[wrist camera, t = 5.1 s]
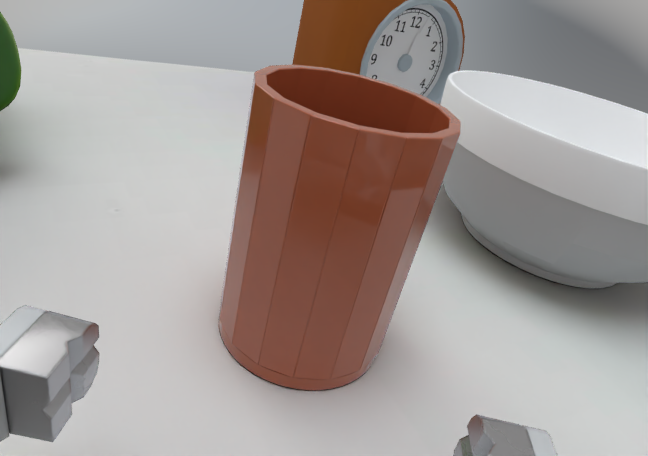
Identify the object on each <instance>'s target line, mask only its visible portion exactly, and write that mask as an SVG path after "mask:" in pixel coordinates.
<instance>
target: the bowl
mask: <svg viewBox="0 0 648 456" xmlns="http://www.w3.org/2000/svg"><path fill="white" fill-rule="evenodd" d="M440 105H441V106H443V107H445V108H447V109H448V110H449V111H450V112H451V113H452V114H453V115H454V116H456V117H457V118H458V119H459V120H460V121H461V133H460V136H459V138H458V141H457V144H456V146H455V149H454V152H453V155H452V157H451V160H450V163H449V165H448V168H447V171H446V173H445V176H444V179H443V184H444V187H445V191H446V194H447V195H448V196H449V198H450V199H451V201H452V202H453V204H454V205H455V206H456V207H457V209H458V210H459V211H460V212H461V214H462V219H463V222H464V225H465V226H466V228H467V229H468V231H469V232H470V233H471V234H472V236H473V237H474V238H475V239H476V240H477V241H478V242H480V243H481V244H482V245H483V246H485V247H486V248H487V249H488V250H490V251H491V252H493V253H494V254H496V255H497V256H499V257H500V258H502V259H503V260H505V261H507V262H509V263H511V264H513V265H515V266H516V267H518V268H520V269H522V270H525V271H527V272H529V273H532V274H534V275H536V276H539V277H542V278H545V279H548V280H551V281H554V282H557V283H561V284H565V285H570V286H574V287H582V288H605V287H609V286H612V285H614V284H616V283H648V114H647V113H644V112H641V111H638V110H635V109H632V108H629V107H626V106H623V105H620V104H617V103H614V102H611V101H608V100H605V99H601V98H598V97H595V96H591V95H588V94H585V93H581V92H577V91H574V90H570V89H567V88H563V87H559V86H555V85H551V84H547V83H543V82H539V81H534V80H530V79H525V78H521V77H516V76H510V75H504V74H499V73H491V72H483V71H469V70H467V71H456V72H453V73H451V74H450V75H449V76H448V78H447V80H446V84H445V88H444V92H443V96H442V100H441V103H440Z"/></svg>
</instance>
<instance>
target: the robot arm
mask: <svg viewBox="0 0 648 456" xmlns="http://www.w3.org/2000/svg"><path fill="white" fill-rule="evenodd" d="M98 338H99V326H98V325H97V324H95V323H92V322H89V321H85V320H81V319H77V318H74V317H70V316H66V315H63V314H59V313H55V312H51V311H46V310H42V309H38V308H35V307H31V306H27V305H25V306H22V307H20V308H18V309H16V310H15V311H14V312H13V313H12V314H11V315H10V316H9V317H8V318H7V319H6V320H5V321H4V322H3V323H2V324H1V325H0V442H1V441H2V440H4V439H5V438H7V437H9V433H10V434H15V435H20V436H25V437H30V438H35V439H40V440H44V441H49V442H53V441H54V440H55V439H56V437H57V436H58V434H59V433H60V431H61V430H62V428H63V427H64V425H65V424H66V422H67V421H68V420H69V418H70V417H71V415H72V403H73V402H75V401H77V400H79V399H81V398H83V397H84V396H85V394H86V393H87V391H88V390H89V388H90V387H91V385H92V383H93V380H94V378H95V375H96V373H97V369H98V365H99V352H98V351H97V349H96V348H95V347H94V344H95V342H96V341H97V340H98ZM467 428H468V433H469V435H468V436H466V437H463V438H461V439H460V440H459V442H458V444H457V446H456V448H455V450H454V454H453V456H558V455H557V453H556V450H555V447H554V444H553V442H552V439H551V436H550V435H549V434H548V433H547V431H545V430H540V429H536V428H532V427H528V426H523V425H522V426H521V425H519V424H515V423H511V422H506V421H502V420H497V419H493V418H489V417H484V416H480V415H475V416H474V417H472V418H471V420H470V422H469V424H468V425H467Z"/></svg>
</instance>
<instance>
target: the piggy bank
mask: <svg viewBox="0 0 648 456" xmlns="http://www.w3.org/2000/svg"><path fill="white" fill-rule="evenodd" d="M20 80H21V65H20V58H19V53H18V49H17V45H16V42H15V39H14V36H13V33H12V31H11V29H10V27H9V25H8V23H7V21H6V20H5V18H4V17H3V15H2V14H1V12H0V111H1V110H3V109H4V108H6V107H7V106H8V105H9V104H10V103H11V102H12V101H13V100H14V99H15V97H16V95H17V92H18V90H19V87H20Z"/></svg>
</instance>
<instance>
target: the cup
mask: <svg viewBox="0 0 648 456" xmlns="http://www.w3.org/2000/svg"><path fill="white" fill-rule="evenodd" d="M460 133H461V121H460V120H459V119H458V118H457V117H456V116H454V115H453V114H452V113H451V112H450V111H449V110H448V109H447V108H445V107H443V106H441V105H439V104H437V103H436V102H434V101H432V100H430V99H428V98H426V97H424V96H422V95H420V94H417V93H415V92H412V91H410V90H407V89H404V88H402V87H399V86H396V85H394V84H391V83H387V82H384V81H380V80H377V79H373V78H370V77H366V76H363V75H359V74H355V73H350V72H345V71H340V70H335V69H329V68H323V67H313V66H304V65H276V66H268V67H266V68H263V69H261V70H258V71H256V72H255V73H254V79H253V86H252V92H251V99H250V106H249V113H248V119H247V126H246V133H245V140H244V147H243V153H242V160H241V167H240V174H239V181H238V187H237V194H236V201H235V208H234V214H233V221H232V228H231V235H230V242H229V248H228V255H227V262H226V269H225V276H224V282H223V289H222V296H221V307H220V314H219V330H220V335H221V337H222V340H223V342H224V344H225V346H226V348H227V349H228V351H229V352H230V353H231V355H232V356H233V357H234V358H235V359H236V360H237V361H238V362H239V363H240V364H241V365H242V366H243V367H245V368H246V369H248V370H249V371H250V372H252V373H254V374H255V375H257V376H259V377H261V378H263V379H265V380H267V381H269V382H272V383H275V384H278V385H281V386H284V387H289V388H294V389H301V390H325V389H332V388H336V387H341V386H343V385H346V384H348V383H351V382H353V381H354V380H356V379H358V378H359V377H360V376H362V375H363V374H364V373H365V372H366V371H367V370H368V369H369V368H370V367H371V365H372V363H373V362H374V360H375V357H376V355H377V354H378V352H379V350H380V347H381V344H382V342H383V339H384V336H385V334H386V331H387V328H388V326H389V323H390V320H391V318H392V315H393V312H394V310H395V307H396V304H397V302H398V299H399V296H400V294H401V291H402V288H403V286H404V283H405V280H406V278H407V275H408V272H409V270H410V267H411V264H412V262H413V259H414V256H415V254H416V251H417V248H418V245H419V243H420V240H421V237H422V235H423V232H424V229H425V227H426V224H427V221H428V219H429V216H430V213H431V211H432V208H433V205H434V203H435V200H436V197H437V195H438V192H439V189H440V187H441V184H442V181H443V179H444V176H445V173H446V171H447V168H448V165H449V163H450V160H451V157H452V155H453V152H454V149H455V146H456V144H457V141H458V138H459V136H460Z"/></svg>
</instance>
